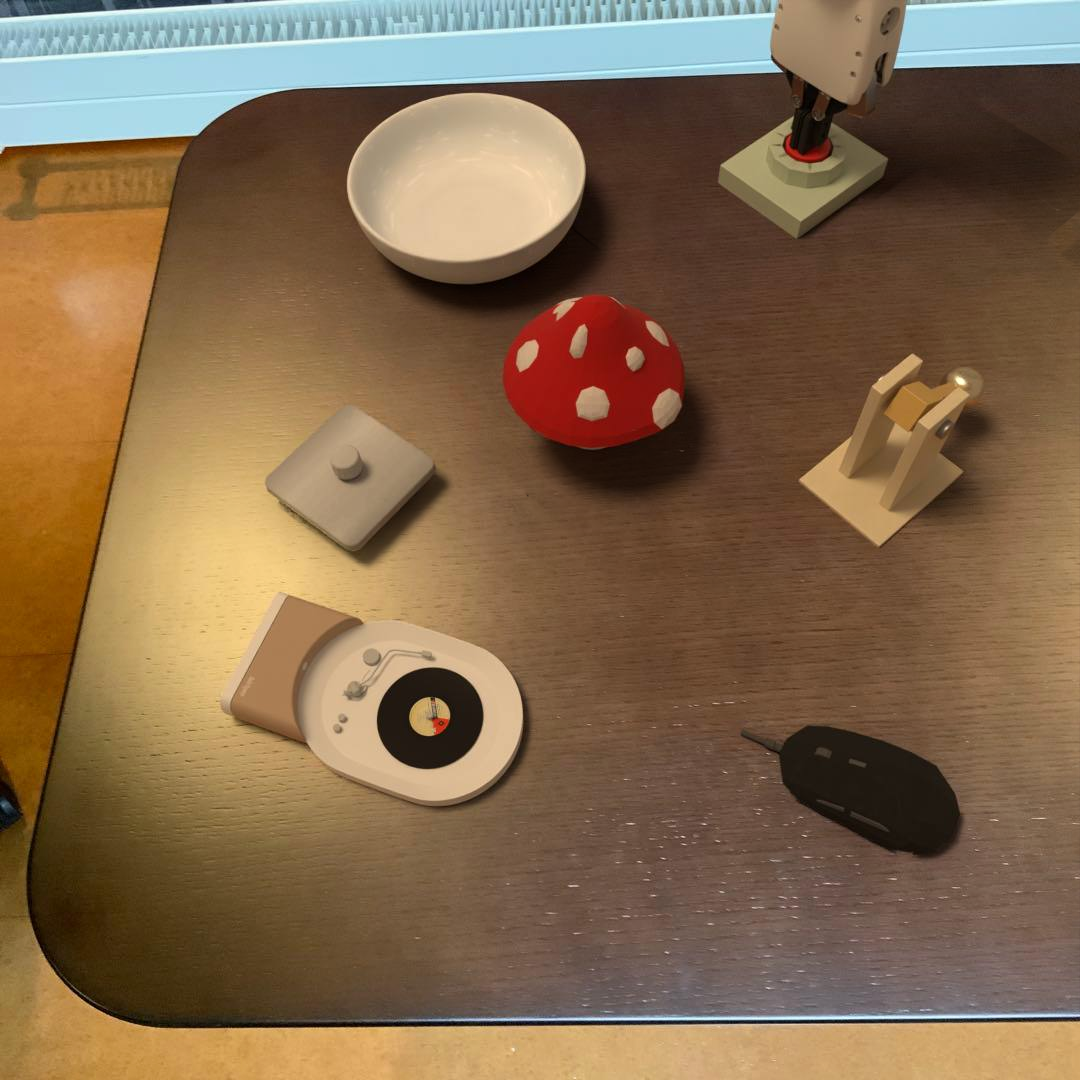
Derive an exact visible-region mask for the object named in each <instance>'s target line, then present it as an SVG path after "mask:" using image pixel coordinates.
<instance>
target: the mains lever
mask: <svg viewBox="0 0 1080 1080" xmlns="http://www.w3.org/2000/svg"><path fill="white" fill-rule="evenodd" d="M958 387H960V388H961V389H963V390H964V391H965V392H967V393H968V394H969V395H970V396H969V398H968V400H967V402H966V404H965V405H964V407H963V409H962V410H965V409H968V408H971V407H973V406H975V405H977V403H979V402H980V401H981V399H982V398H983V396H984V394H985V391H986V390H985V389H986V384H985V379H984V377H983V376H982V374H981V373H980V372H979V371H978V370H977V369H975V368H973V367H970V366H963V365H962V366H957V367H954V368H952V369H949V371H947V372H946V373H945V374H944V375H943V376H942V379H941V381H940V383H939V386H936V387H933V388H930V387H928V386H927V385H925V384H924V383H923V382H921V380H917V381H914V383H911V384H908V385H905V386H902V388H901V389H900V390H899V392H898V393H897V395H896V396H895V398H894V399H893V400H892V402H891V403H890V405H889V406H888V408H887V409H886V411H885V412H884V414H885V415H886V416H887V417H889V418H890V419H891V420H893V421H894V422H895V423H897V424H898V425H899V426H901V427H902V428H903V429H904V430H906V431H907V432H910V431H911V432H913V430H914V428H915V426H916V424H917V422H918V421H919V420H920V419H921V418H922V417H923V416H924V415H926V414H927V413H928V412H929V411H930V410H932V409H933V408H934V407H935V406H936V405H937V404H939V403H940V402H941V401H942V400H943V399H945V398H946V397H947V396H948V395H949V394H950V393H952V392H953V391H954V390H955V389H956V388H958Z"/></svg>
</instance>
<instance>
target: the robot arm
mask: <svg viewBox="0 0 1080 1080" xmlns="http://www.w3.org/2000/svg"><path fill="white" fill-rule="evenodd" d="M907 2H908V0H778V1H777V5H776V9H775V13H774V17H773V21H772V27H771V32H770V38H769V39H770V40H769V51H770V60H771V61H772V63H773V64H774V65H775V66H777V68H779V70H780V71H781V72H782V73H783V74H785V76H786V79H787V82H788V84H789V87H790V89H791V95H790V102H791V104H792V105H793V107H794V108H795V109H794V113H793V116H794V118H793V122H792V127H791V130H792V134H791V138H790V143H789V146H790V147H791V148H793V149H795V148H796V149H797V150H798V152H799V153H800V154H802V155H804V154H805V153H807V152H808V151H810V150H811V149H813V148H814V147H819V146H820V145H822V144H823V143H824V142H825V141H826V139H827V137H828V134H829V131H830V127H831V123H833V119H834V115H836V114H840V113H842V112H846V114H848V115H851V116H854V117H858V118H860V119H863V118H866V117H867V116H868V115H870V114H872V112H875V109H876V99H877V86H880V87H881V88H884V87H885V86H886V85H887V84H888V83H889V82H890V80H891V78H892V75H893V71H894V68H895V65H896V61H897V57H898V54H899V53H898V52H899V48H900V45H901V44H900V43H901V39H902V34H903V29H904V24H905V18H906V12H907Z"/></svg>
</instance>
